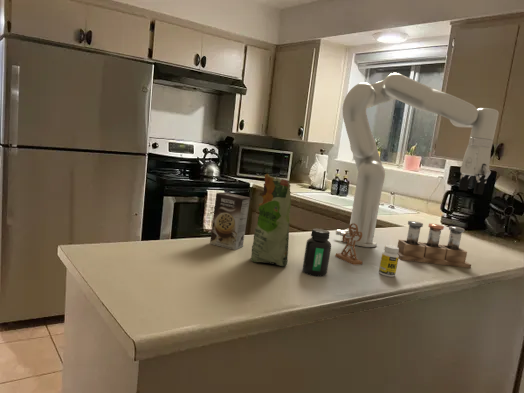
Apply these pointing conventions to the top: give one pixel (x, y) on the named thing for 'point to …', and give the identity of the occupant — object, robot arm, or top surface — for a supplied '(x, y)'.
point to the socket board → (432, 254)
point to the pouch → (273, 223)
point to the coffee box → (229, 220)
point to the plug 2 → (454, 237)
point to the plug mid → (434, 235)
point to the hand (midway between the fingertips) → (470, 192)
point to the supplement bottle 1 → (317, 253)
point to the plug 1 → (413, 232)
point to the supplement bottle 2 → (389, 261)
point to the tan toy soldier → (343, 254)
